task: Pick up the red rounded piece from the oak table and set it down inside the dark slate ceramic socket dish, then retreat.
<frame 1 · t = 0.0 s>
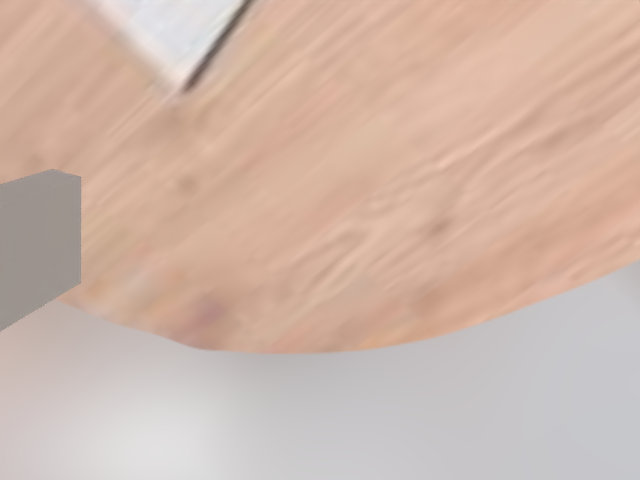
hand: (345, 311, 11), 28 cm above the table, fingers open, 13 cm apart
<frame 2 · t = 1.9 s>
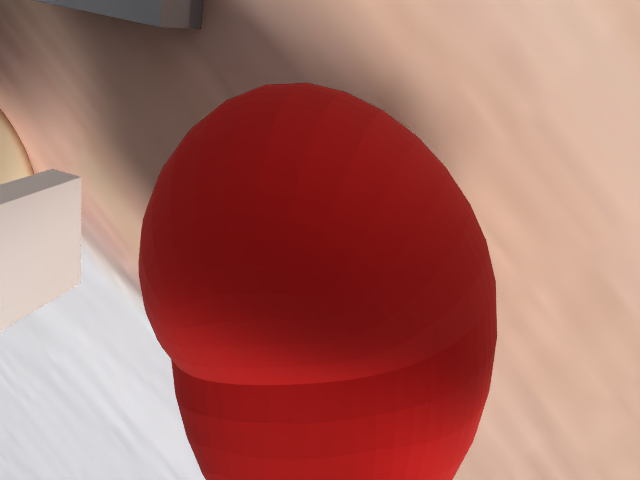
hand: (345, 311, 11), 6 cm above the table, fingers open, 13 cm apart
red rounded piece: (373, 214, 17), on the table
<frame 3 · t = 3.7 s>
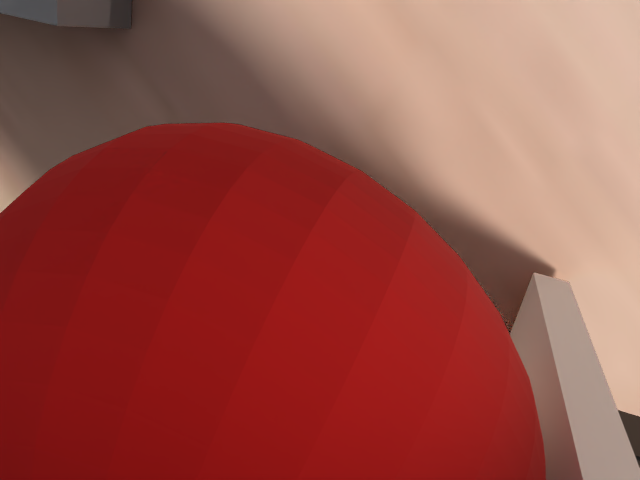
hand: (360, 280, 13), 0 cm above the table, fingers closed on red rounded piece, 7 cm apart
red rounded piece: (361, 272, 13), on the table, touching gripper
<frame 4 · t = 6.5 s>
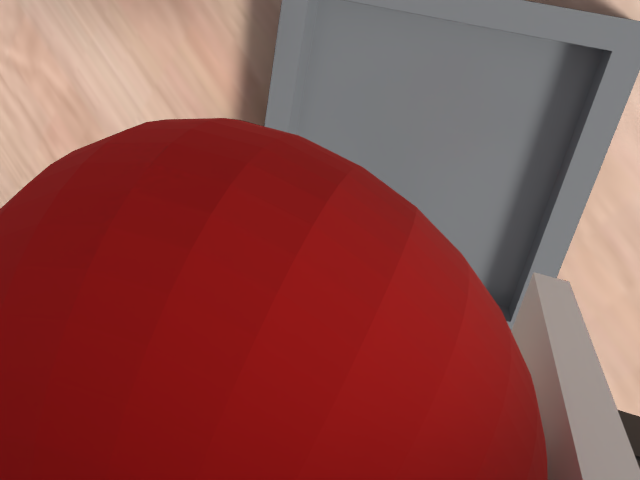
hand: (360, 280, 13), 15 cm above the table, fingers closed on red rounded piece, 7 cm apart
socket dish: (420, 156, 27), on the table
red rounded piece: (361, 271, 13), point 15 cm above the table, touching gripper
when the fingers open (3 cm above the table, at t = 9.4 s): red rounded piece drops 1 cm, resting on socket dish.
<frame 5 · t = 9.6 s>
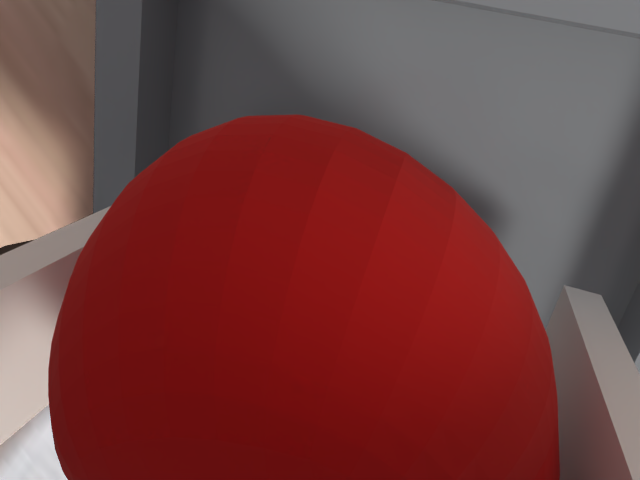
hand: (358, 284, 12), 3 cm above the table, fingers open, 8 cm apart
socket dish: (379, 243, 15), on the table
red rounded piece: (375, 251, 14), point 1 cm above the table, touching socket dish
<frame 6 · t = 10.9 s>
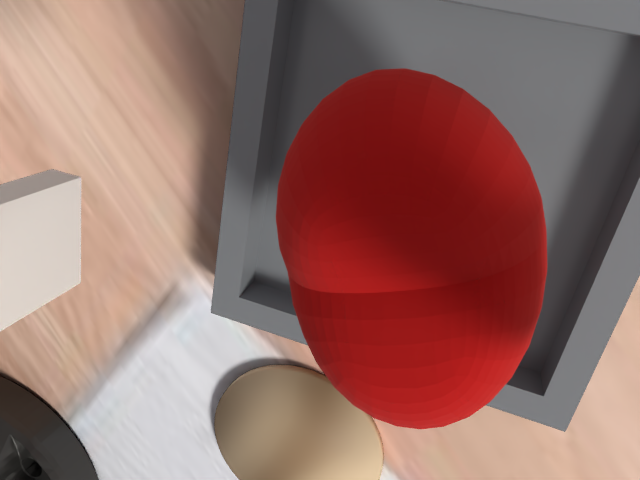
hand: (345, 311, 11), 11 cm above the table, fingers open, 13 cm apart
socket dish: (429, 180, 21), on the table
cork coaster: (297, 440, 28), on the table
red rounded piece: (427, 184, 20), point 1 cm above the table, touching socket dish
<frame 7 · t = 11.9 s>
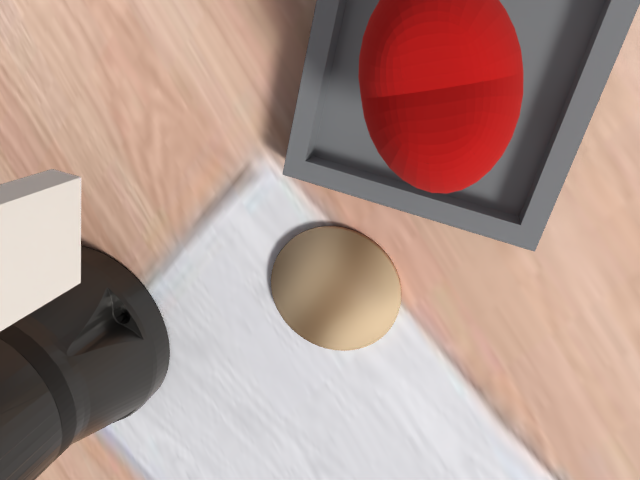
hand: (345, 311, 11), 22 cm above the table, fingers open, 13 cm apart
socket dish: (446, 76, 30), on the table
cork coaster: (335, 288, 36), on the table
red rounded piece: (445, 77, 29), point 1 cm above the table, touching socket dish
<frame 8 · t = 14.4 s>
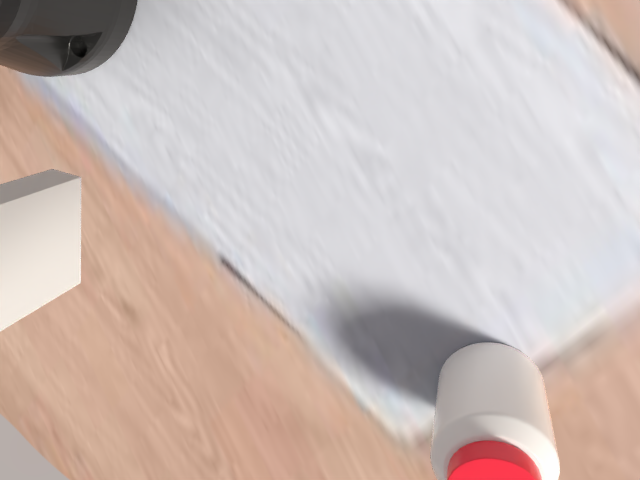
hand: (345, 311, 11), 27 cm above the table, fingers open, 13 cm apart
pill bottle: (490, 384, 41), on the table
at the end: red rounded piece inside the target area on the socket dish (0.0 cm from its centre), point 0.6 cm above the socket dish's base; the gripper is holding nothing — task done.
